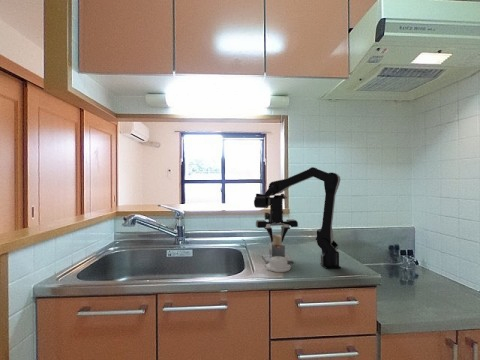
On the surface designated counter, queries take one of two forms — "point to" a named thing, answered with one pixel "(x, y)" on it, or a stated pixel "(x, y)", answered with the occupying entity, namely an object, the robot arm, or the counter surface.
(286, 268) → the mechanical component
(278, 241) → the birch post
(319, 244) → the robot arm
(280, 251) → the metal stand
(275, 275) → the counter surface
